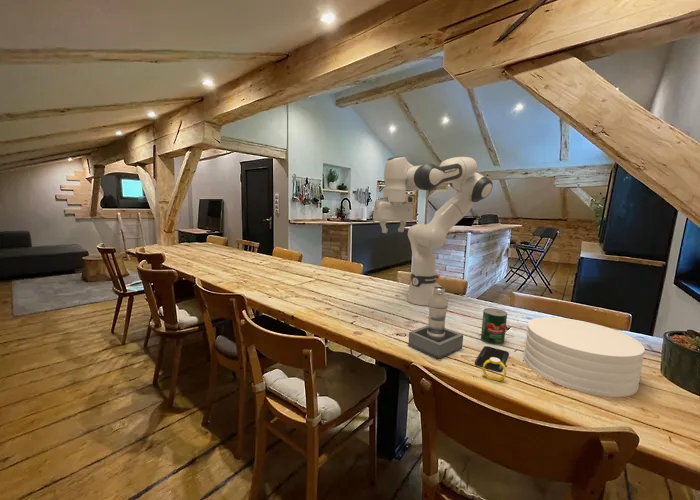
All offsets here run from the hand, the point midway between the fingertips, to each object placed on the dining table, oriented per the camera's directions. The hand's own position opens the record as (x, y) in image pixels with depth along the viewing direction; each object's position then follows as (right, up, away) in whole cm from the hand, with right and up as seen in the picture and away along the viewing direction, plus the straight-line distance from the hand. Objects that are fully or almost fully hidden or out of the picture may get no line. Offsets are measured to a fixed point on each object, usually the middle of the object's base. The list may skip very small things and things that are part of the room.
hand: (392, 232), depth 127 cm
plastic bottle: (+12, -40, -20) cm, 46 cm away
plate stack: (+52, -44, -32) cm, 75 cm away
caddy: (+12, -41, -20) cm, 47 cm away
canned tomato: (+35, -41, -13) cm, 55 cm away
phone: (+28, -43, -27) cm, 58 cm away
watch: (+23, -44, -39) cm, 63 cm away
